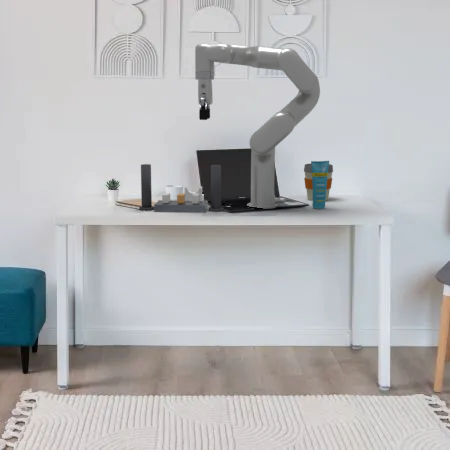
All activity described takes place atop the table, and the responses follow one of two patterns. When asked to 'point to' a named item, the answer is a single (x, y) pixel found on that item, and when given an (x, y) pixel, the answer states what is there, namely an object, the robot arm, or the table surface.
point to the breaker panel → (180, 206)
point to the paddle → (196, 198)
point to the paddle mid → (181, 198)
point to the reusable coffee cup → (309, 181)
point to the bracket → (189, 194)
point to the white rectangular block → (166, 198)
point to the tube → (319, 183)
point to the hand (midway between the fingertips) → (204, 119)
